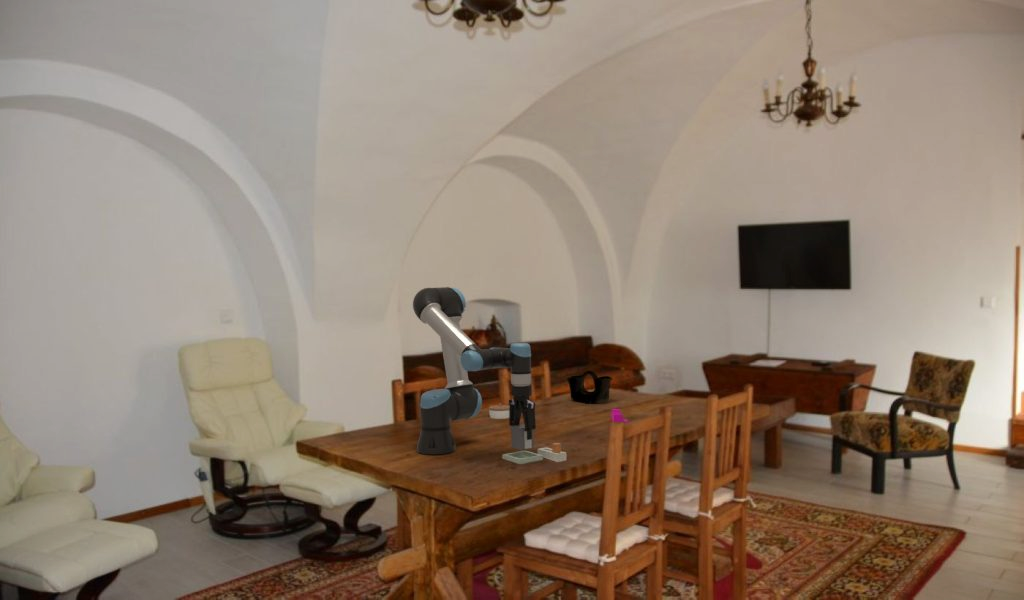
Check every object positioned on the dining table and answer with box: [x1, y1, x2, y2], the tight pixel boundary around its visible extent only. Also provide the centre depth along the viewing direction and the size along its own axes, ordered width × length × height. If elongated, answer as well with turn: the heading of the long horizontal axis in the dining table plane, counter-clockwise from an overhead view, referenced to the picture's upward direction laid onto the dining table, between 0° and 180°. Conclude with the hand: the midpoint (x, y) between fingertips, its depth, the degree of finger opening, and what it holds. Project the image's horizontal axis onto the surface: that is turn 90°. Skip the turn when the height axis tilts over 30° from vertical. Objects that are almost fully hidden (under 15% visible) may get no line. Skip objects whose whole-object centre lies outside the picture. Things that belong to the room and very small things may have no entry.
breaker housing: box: [536, 447, 567, 463], centre depth 293 cm, size 4×12×3 cm, turn 36°
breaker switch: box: [551, 442, 562, 453], centre depth 290 cm, size 2×2×3 cm
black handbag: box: [566, 370, 613, 405], centre depth 405 cm, size 25×11×20 cm, turn 59°
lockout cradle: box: [501, 450, 544, 466], centre depth 291 cm, size 11×11×2 cm
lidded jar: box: [488, 402, 510, 420], centre depth 369 cm, size 11×11×9 cm
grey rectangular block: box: [510, 423, 535, 451], centre depth 291 cm, size 6×6×8 cm
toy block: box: [611, 408, 629, 423], centre depth 352 cm, size 15×6×8 cm, turn 177°
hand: (522, 446), depth 291 cm, fingers closed on grey rectangular block, 6 cm apart
